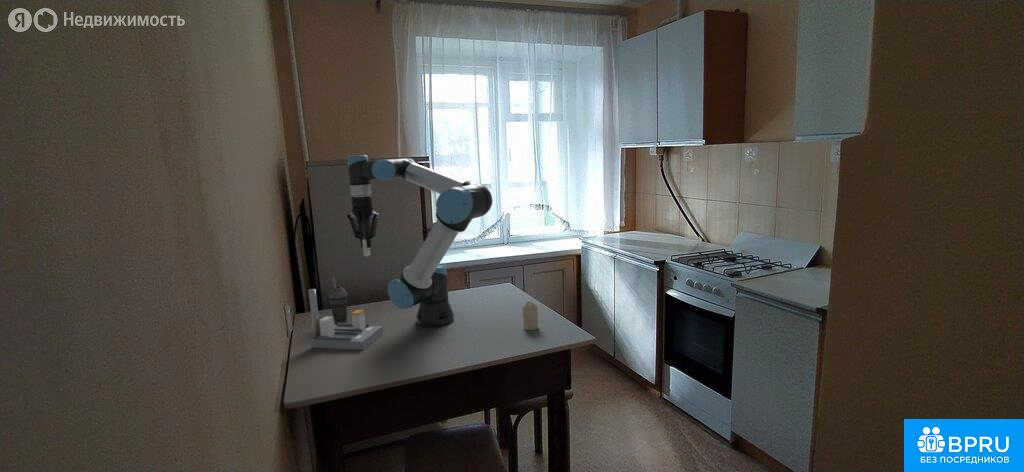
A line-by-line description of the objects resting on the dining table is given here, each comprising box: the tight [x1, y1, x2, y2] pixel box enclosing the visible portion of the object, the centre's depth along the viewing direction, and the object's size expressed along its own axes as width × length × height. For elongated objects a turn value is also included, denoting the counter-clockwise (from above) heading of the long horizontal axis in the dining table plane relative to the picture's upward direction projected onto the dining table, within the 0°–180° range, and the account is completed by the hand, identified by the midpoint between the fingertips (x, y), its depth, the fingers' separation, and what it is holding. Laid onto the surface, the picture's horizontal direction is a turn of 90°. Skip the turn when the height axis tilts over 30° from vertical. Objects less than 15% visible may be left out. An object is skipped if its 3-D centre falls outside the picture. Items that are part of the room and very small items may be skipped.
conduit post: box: [308, 288, 321, 339], centre depth 171 cm, size 2×2×18 cm
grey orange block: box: [351, 309, 367, 330], centre depth 179 cm, size 3×4×7 cm
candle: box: [522, 301, 539, 331], centre depth 181 cm, size 6×6×10 cm
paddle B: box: [319, 315, 335, 337], centre depth 173 cm, size 3×4×7 cm
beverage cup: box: [328, 276, 348, 325], centre depth 193 cm, size 7×7×20 cm
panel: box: [311, 322, 384, 351], centre depth 176 cm, size 20×15×4 cm
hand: (367, 255), depth 188 cm, fingers closed
